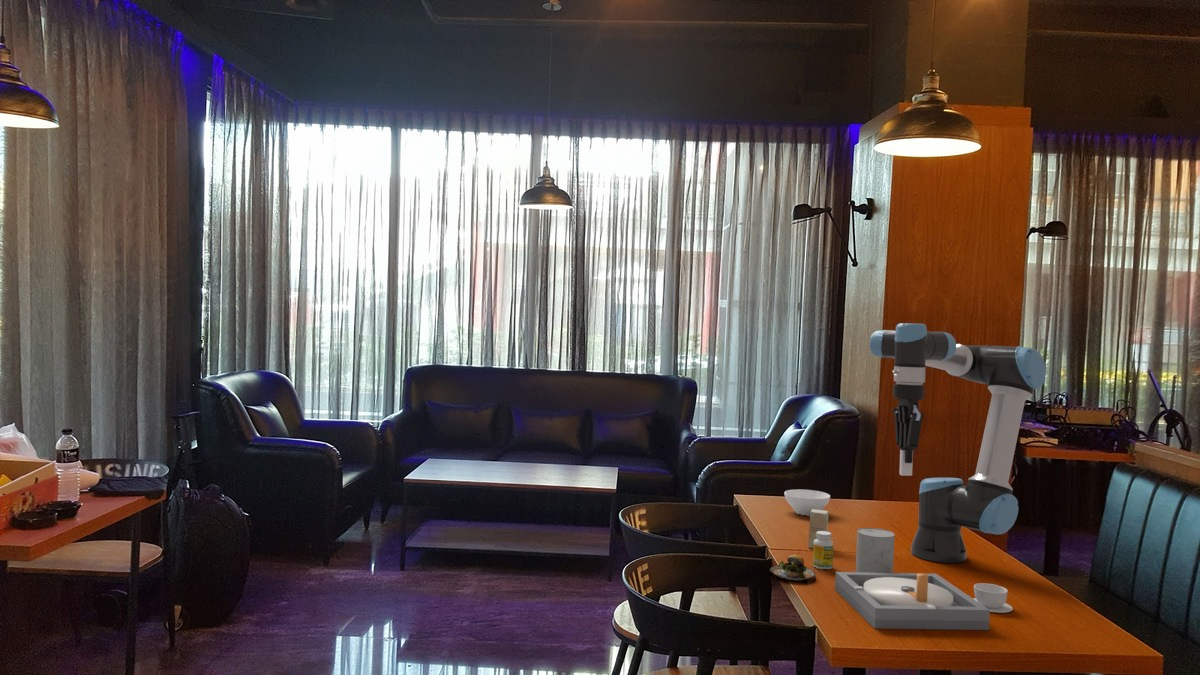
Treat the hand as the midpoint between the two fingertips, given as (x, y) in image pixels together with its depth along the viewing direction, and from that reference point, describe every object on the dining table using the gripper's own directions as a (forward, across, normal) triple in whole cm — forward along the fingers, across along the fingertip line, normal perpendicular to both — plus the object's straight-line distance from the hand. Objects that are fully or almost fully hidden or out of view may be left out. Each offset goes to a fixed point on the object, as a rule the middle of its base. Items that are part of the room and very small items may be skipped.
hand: (905, 474), depth 206 cm
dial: (+27, +15, -5) cm, 31 cm away
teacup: (+30, +12, +16) cm, 36 cm away
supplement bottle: (+30, -17, -15) cm, 37 cm away
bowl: (+30, -81, 0) cm, 86 cm away
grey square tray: (+29, +15, -5) cm, 33 cm away
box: (+30, -37, -10) cm, 48 cm away
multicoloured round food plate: (+30, -8, -26) cm, 40 cm away
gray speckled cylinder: (+30, -8, -4) cm, 31 cm away
